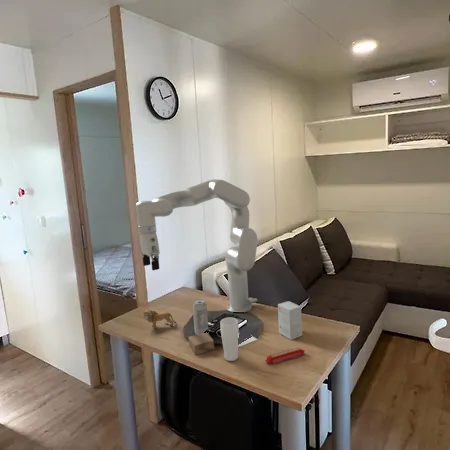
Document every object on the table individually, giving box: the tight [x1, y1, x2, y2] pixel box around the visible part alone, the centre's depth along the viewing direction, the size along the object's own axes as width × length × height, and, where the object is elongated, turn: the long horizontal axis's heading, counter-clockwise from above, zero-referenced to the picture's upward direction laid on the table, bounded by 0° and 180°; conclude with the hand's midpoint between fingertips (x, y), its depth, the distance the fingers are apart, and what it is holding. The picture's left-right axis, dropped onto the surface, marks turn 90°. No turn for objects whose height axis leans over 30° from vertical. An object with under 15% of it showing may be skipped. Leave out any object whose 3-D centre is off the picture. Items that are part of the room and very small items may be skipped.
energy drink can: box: [192, 299, 209, 335], centre depth 157 cm, size 6×6×15 cm
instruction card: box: [238, 335, 258, 348], centre depth 151 cm, size 12×9×1 cm
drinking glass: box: [219, 316, 240, 362], centre depth 137 cm, size 7×7×15 cm
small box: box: [277, 300, 303, 341], centre depth 153 cm, size 8×6×13 cm
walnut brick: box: [188, 332, 215, 355], centre depth 147 cm, size 8×8×4 cm
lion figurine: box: [142, 309, 177, 330], centre depth 168 cm, size 15×5×9 cm, turn 108°
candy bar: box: [264, 347, 306, 365], centre depth 135 cm, size 16×4×3 cm, turn 112°
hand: (151, 267), depth 161 cm, fingers open, 9 cm apart
